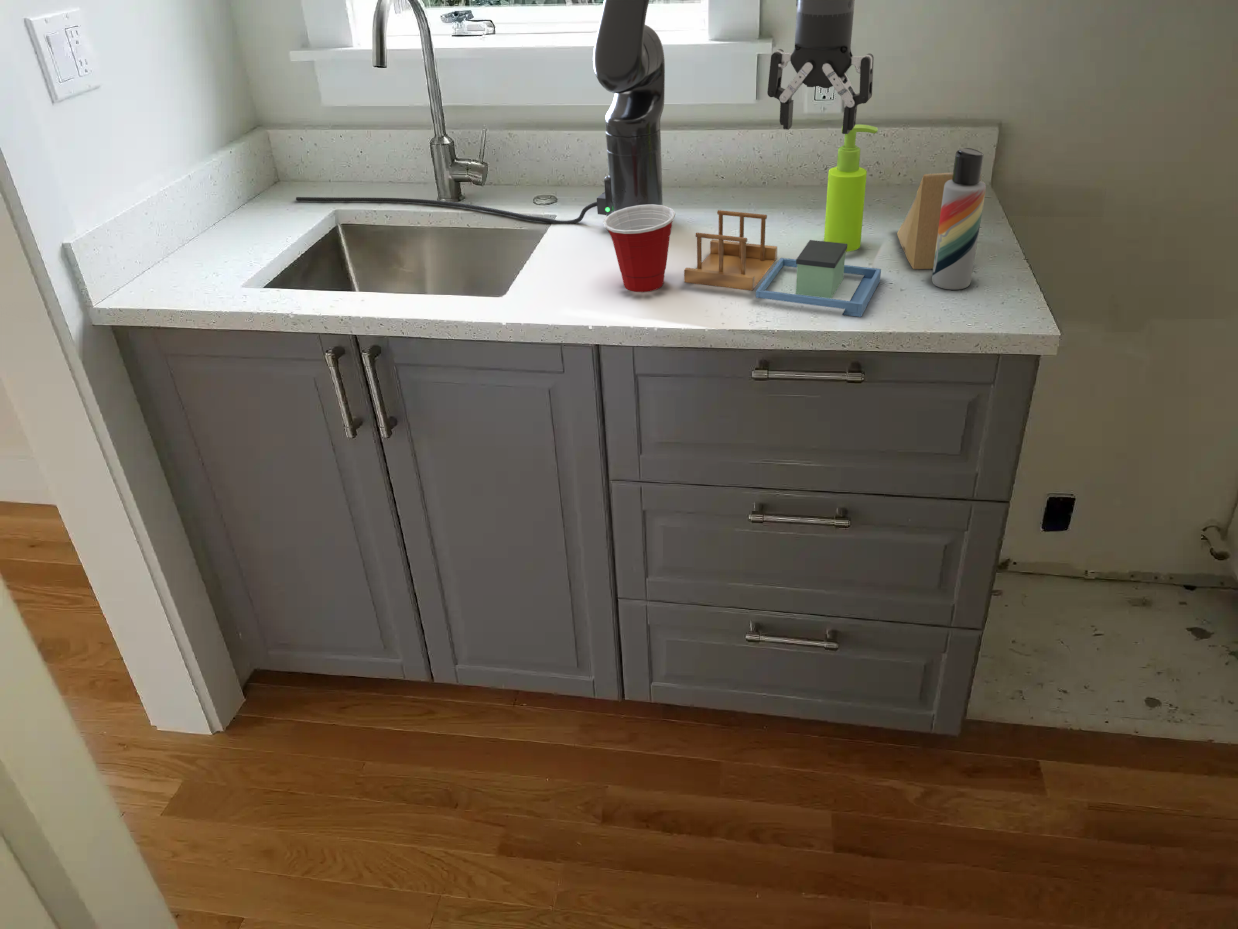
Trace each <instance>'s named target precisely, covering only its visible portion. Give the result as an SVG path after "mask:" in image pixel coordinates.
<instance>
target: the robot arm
mask: <svg viewBox="0 0 1238 929" xmlns="http://www.w3.org/2000/svg"><path fill="white" fill-rule="evenodd" d="M855 2H856V1H855V0H796V2H795V6H796V15H795V16H796V17H795V30H794V31H795V34H794V47H793V48H794V49H793V50H792V52H788V51H784V50H783V49H781V48H779V49H777V50H776V51H774V52H773V53H772V54H771V55H770V63H769V72H768V73H769V74H768V83H767V96H768V97H769V98H774V99H776V100H778V101H779V104H780V105H779V106H780V107H779V125H780V126H782V128H783V130H786V131H789V130H790V129H791V128H792V126H793V116H794V99H793V96H794V95H795V94H796V92H797V91H798V90H799V88H801V87H802V85H803V84H804V85H805V86H806V88H815V87H819V88H823V89H830V88H832V87H833V88H834V90H835V91H836V93H837V95H839V96H840V97H841V99H842V101H843V102H844V104H845V106H844V108H843V118H842V119H843V120H842V126H843V128H842V127H841V134H842V135H845V134H848V133H849V132H850V130H852V129H853V128H854V126H855V125H857V124H856V123H857V113H858V106H859V105H861V104H863V105H865V104H867V103H868V102H869V101H870V99H871V98H872V96H873V82H874V61H875V60H874V58H875V57H874V55H873V54H872V53H866V54H865V55H853V53H852V49H851V47H852V35H853V24H854V12H855ZM649 4H650V0H603V3H602V9H601V14H600V18H599V23H598V27H597V32H596V36H595V42H594V47H593V53H592V54H593V55H592V61H593V62H592V65H593V70H594V74H595V77H596V79H597V80H598V82H599V85H601V87H602V88H603V89H605V90H606V91H608V92H609V93H612V94H614V96H613V100H612V102H611V104H610V106H609V108H608V110H607V111H606V114H605V117H604V126H605V128H604V129H605V139H606V140H605V141H606V158H607V172H608V174H607V175H606V176H605V177H604V179H603V183H604V184H603V185H604V191H603V192H602V193H601V194H599V195H598V196H597V197H596V201H595V202H592V203H590V204H588V205H586V206H585V207H584V208H583V209H582V210H581V212H580V214H579V216H578V217H577V218H574V219H570V220H559V219H553V218H547V217H541V216H534V215H526V214H522V213H517V212H513V211H509V210H504V209H497V208H493V207H487V206H481V205H475V204H469V203H461V202H455V201H446V200H445V201H444V200H434V199H424V198H423V199H422V198H405V197H403V198H402V197H355V196H353V197H327V196H326V197H325V196H324V197H323V196H322V197H320V196H319V197H318V196H296V197H295V201H296V202H381V203H382V202H384V203H385V202H386V203H411V204H412V203H413V204H427V205H437V206H448V207H456V208H462V209H468V210H469V209H470V210H476V211H481V212H487V213H494V214H499V215H503V216H507V217H508V216H509V217H514V218H518V219H521V220H527V221H534V222H543V223H547V224H553V225H575V224H576V223H579V222H581V221H583V219H584V217H585V215H586V213H587V212H588V211H589V210H591V209H594V208H595V207H596V209H597V210H596V212H597V215H600V216H601V215H602V216H605V218H606V217H607V216H608V215H610V214H611V213H613V212H615V211H618V210H621V209H624V208H627V207H632V206H637V205H651V204H654V205H663V206H664V202H663V172H662V171H663V170H662V169H663V168H662V166H663V165H662V140H661V138H662V137H661V136H662V135H661V134H662V133H661V118H662V115H663V111H664V107H665V88H666V86H665V84H666V82H665V81H666V80H665V78H666V63H665V59H666V58H665V52H664V47H663V43H662V40H661V39H660V37H659V35H658V33H657V31H655V30H654V29H653V28H652V27H651V26H648V25H647V24H646V17H647V14H648V7H649ZM789 62H790V64H791V66H792V67H793V69H794V70H795V73H796V75H795V76H794V77H793V78H792V80H791V81H790V82H789V83H788V85H787V86H786V88H784V87H782V81H783V71H784V69H785V68H786V67H787V66H788V63H789ZM852 65H853V67H854V68H855V72H856V73H857V74H859V92H858V93H857V92H856V90H855V88H854V87H853V84H852V82H851V80H850V78H849V77H848V75H847V71H848V70H849V69H850V68H851V66H852ZM606 231H607V232H609V231H608V229H606Z"/></svg>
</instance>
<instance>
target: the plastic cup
mask: <svg viewBox="0 0 1238 929" xmlns="http://www.w3.org/2000/svg"><path fill="white" fill-rule="evenodd" d="M675 217H676V212H675V210H674V209H673V208H672V207H670V206H667V205H664V204H663V205H654V204H651V205H637V206H632V207H627V208H624V209H621V210H618V211H615V212H613V213H611V214H610V215H608V216H607V217H606V216H605V218H604V219H603V221H602V223H603V225H604V227H605V229H606V230H607V229H608V231H607V232H608V233H609V236H610V238H611V240H612V244H613V249H614V252H615V256H616V260H617V264H618V268H619V271H620V275H621V279H622V284H623V286H624V288H625V289H626V290H628V291H631V292H634V293H647V292H648V293H649V292H653V291H657V290H658V289H660V288H662V287H663V284H664V281H665V273H666V269H667V263H668V262H667V261H668V255H669V254H668V253H669V247H670V239H671V238H670V237H671V234H672V228H673V221H674V218H675Z"/></svg>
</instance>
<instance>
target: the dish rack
mask: <svg viewBox="0 0 1238 929" xmlns="http://www.w3.org/2000/svg"><path fill="white" fill-rule="evenodd" d="M716 214H717V215H718V234H715V233H706V232H695V234H694V236H695V238H696V268H692V267H685V268H684V269H683V282H684V283H688V284H695V285H703V286H711V287H719V288H720V287H721V288H727V289H734V290H735V289H736V290H743V291H751V292H753V291H754V289H755V288H757V285H758V284H759V283H760V282H761V280H762V279H763V278H764V277H765V275H766V274H767V272H768V271H769V270H770V268H771V267H772V266H773V265H774V264H775V262H776V260H777V259H778V246H775V245H767V244H766V225H767V224H766V221H767V219H768V214H763V213H754V212H753V213H752V212H744V211H743V212H742V211H731V210H722V209H718V210H716ZM724 216H727V217H738V218H739V236H734V235H725V234H724ZM745 218H747V219H748V218H749V219H758V220H760V244H757V243H749V242H748V237H745ZM702 239H710V242H709V254H708V255H707V256H706V257H705V258H704V259H703V258H702V257H703V255H702V251H703V250H702V248H703V247H702V244H703V243H702ZM747 242H748V243H747ZM702 259H703V260H702Z"/></svg>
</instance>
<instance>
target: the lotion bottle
mask: <svg viewBox="0 0 1238 929" xmlns="http://www.w3.org/2000/svg"><path fill="white" fill-rule="evenodd" d="M984 157H985V153H983V152H982V151H980V150H978V149H975V148H971V147H961V148H958V149H957V151H955V154H954V162H953V168H952V169H953V170H952V173H953V176H952V179H951V180H949V181H947V182H946V183H945V185H944V191H943V198H942V206H941V213H940V221H939V228H938V236H937V243H936V251H935V258H934V266H933V269H932V273H931V274H932V275H931V282H932V283H933V285H934V286H936V287H937V288H940V289H945V290H953V291H954V290H962V289H965V288H968V287H969V286H970V285H971V282H972V278H973V272H974V266H975V259H976V254H977V247H978V241H979V235H980V228H981V223H982V215H983V209H984V203H985V198H986V197H985V196H986V189H987V185H986V183H985V182H984V181H982V180H980V177H981V178H982V169H983V164H984Z"/></svg>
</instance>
